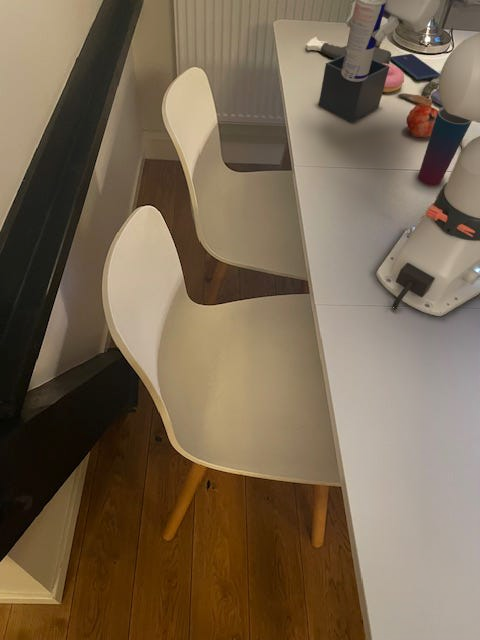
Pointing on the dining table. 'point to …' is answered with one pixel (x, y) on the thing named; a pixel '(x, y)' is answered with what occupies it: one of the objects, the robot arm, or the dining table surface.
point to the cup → (442, 146)
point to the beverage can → (362, 39)
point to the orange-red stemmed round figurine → (421, 120)
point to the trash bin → (352, 90)
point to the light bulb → (384, 35)
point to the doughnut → (393, 79)
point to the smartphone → (415, 66)
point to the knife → (430, 87)
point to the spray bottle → (337, 52)
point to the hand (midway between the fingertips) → (362, 32)
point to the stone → (416, 98)
